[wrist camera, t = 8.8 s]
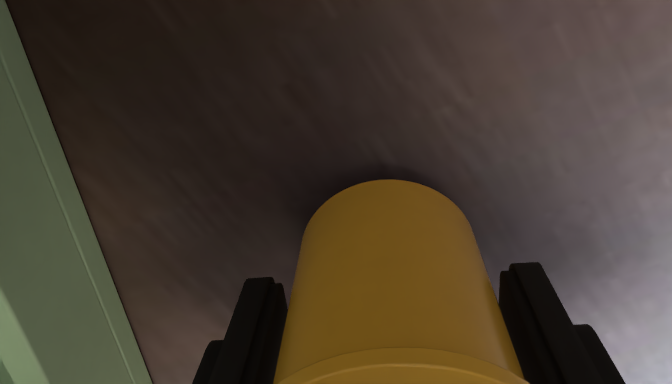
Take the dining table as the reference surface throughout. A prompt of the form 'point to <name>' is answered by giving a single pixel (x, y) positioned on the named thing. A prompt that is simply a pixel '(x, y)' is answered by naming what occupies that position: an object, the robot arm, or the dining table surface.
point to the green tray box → (50, 251)
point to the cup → (393, 295)
